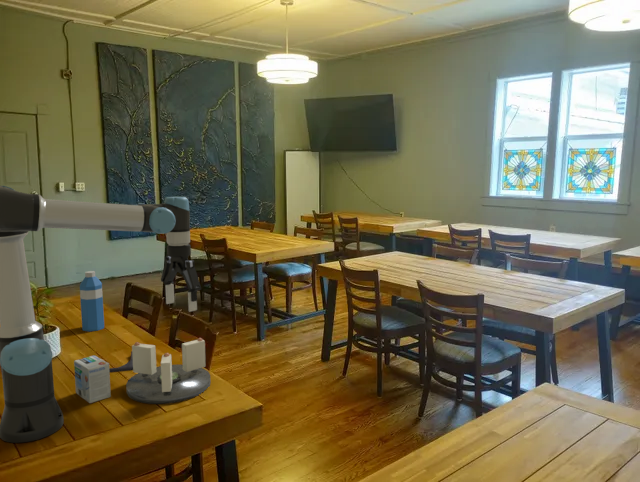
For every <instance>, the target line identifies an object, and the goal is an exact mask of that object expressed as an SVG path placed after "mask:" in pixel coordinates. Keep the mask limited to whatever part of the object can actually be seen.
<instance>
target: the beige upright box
mask: <svg viewBox="0 0 640 482" xmlns="http://www.w3.org/2000/svg"><path fill="white" fill-rule="evenodd" d="M181 354H182V355H181V356H182V365H183V370H184V371H186V372H189V371H191V372H192V373H196V372H197V369H199V368H205V367H206V341H205V340H204V339H203V338H202V337H199V338H198V339H194V340H191V341H187V342H184V343H181Z"/></svg>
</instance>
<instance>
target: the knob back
mask: <svg viewBox="0 0 640 482" xmlns="http://www.w3.org/2000/svg"><path fill="white" fill-rule="evenodd" d="M131 351H132V356H133V370H132V372H133V373H136V374H138V373H142V377H146V376H148V374H149V375H152V374H154V373H156V372H157V371H156V367H157V352H156V345H154V344H145V343H140V342H138V341H136V342H134V344H132V345H131Z"/></svg>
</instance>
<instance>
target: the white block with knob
mask: <svg viewBox="0 0 640 482" xmlns="http://www.w3.org/2000/svg"><path fill="white" fill-rule="evenodd" d="M172 361H173V360H172V354H171V353H169V352H165V353H164V354H162V356H161V361H160V366H161V380H162V392H170V391H171V388H172V365H173V363H172Z"/></svg>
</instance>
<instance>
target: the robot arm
mask: <svg viewBox="0 0 640 482" xmlns="http://www.w3.org/2000/svg"><path fill="white" fill-rule="evenodd" d="M190 211H191V210H190V201H189V199H188V197H186V196H167V197H165V198H164V202H163V203H149V204H147V203H146V204H145V203H144V204H139V203H137V204H122V203H121V204H120V203H110V202H109V203H108V202H106V203H105V202H95V201H94V202H92V201H80V200H79V201H78V200H67V199H66V200H64V199H63V200H62V199H54V198H53V199H51V198H49V199H48V198H43V196H42V195H41V194H35V193H34V194H33V193H26V192H22V191H18V190H16V189H14V188H12V187H9V186H6V185H0V369H1V370H0V372H1V379H2V387H3V389H2V390H3V399H4V408H3V413H2V415H1V419H0V439H1V440H2V441H3V442H7V443H13V444H14V443H16V444H18V443H28V442H34V441H38V440H42V439H43V438H46V437H49V436H51V435H53V434H55V433H56V432H57V431H59V430H60V429H61V428H62V427H63V425H64V424H65V423H64V413H63V411H62V410H61V409H62V408H61V407H60V405H59V402H58V401H57V399H56V396H55V386H54V373H53V361H52V360H53V351H52V348H51V345H50V343H49V342H48V341H46V340H45V335H44V330H43V328H44V327H43V324H41V323H40V322H39V321H36V318H35V317H36V316H35V310H34V302H33V297H32V289H31V283H30V276H29V270H28V262H27V256H26V250H25V249H26V248H25V242H24V239H25V237H26V236H28V234H29V232H40V230H42V229H45V228H46V229H69V230H71V229H72V230H91V231H92V230H96V231H97V230H98V231H121V232H141V233H142V232H143V233H156V234H159V235H161V234H163V235H164V234H166V235H165V236H166V244H167V246H166V252H167V253H166V254H167V255H166V256H165V257H164V266H163V269H162V273H161V279H160V281H161V282H162V283H163V284H164V286H165V305H168V304H175V286H174V280H175V277H176V275H177V273H179V274H180V276H182V278H183V279H184V282H185V284H186V286H187V288H188V291H187V300H188V301H187V306H188V312H190V313H191V312H194V311H197V310H198V294H197V293H198V291H200V290H202V286H201V283H200V279H199V276H198V273H197V269H196V266H195V264H196V263H195V260H193V259H192V260H189V258H188V257H190V256H191V253H192V249H191V247H192V246H191V244H190V243H191V229H190V228H191V227H190V226H191V225H190V223H191V222H190V221H191V220H190V219H191V218H190Z"/></svg>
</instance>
